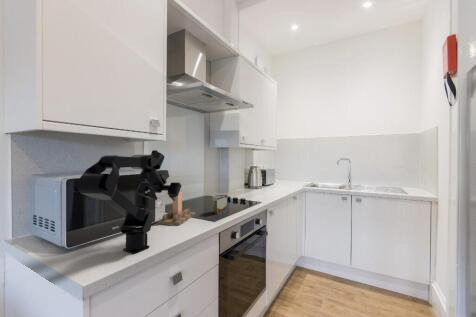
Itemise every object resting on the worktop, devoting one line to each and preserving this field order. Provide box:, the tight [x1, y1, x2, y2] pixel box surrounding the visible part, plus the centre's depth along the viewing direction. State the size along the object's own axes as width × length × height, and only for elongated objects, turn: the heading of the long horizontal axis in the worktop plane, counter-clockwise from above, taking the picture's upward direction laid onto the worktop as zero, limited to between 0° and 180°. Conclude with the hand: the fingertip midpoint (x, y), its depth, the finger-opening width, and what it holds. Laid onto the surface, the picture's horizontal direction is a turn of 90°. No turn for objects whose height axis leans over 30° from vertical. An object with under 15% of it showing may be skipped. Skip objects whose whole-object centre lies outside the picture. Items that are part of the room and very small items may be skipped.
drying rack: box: [156, 207, 196, 226], centre depth 119 cm, size 20×12×4 cm, turn 170°
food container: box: [211, 194, 229, 215], centre depth 135 cm, size 12×6×10 cm, turn 149°
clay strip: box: [172, 191, 183, 218], centre depth 119 cm, size 5×3×13 cm, turn 171°
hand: (165, 199), depth 103 cm, fingers open, 9 cm apart
